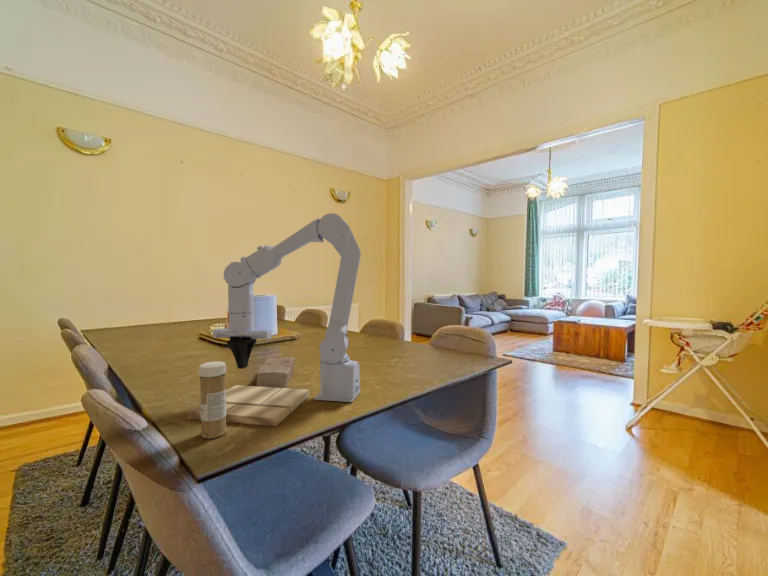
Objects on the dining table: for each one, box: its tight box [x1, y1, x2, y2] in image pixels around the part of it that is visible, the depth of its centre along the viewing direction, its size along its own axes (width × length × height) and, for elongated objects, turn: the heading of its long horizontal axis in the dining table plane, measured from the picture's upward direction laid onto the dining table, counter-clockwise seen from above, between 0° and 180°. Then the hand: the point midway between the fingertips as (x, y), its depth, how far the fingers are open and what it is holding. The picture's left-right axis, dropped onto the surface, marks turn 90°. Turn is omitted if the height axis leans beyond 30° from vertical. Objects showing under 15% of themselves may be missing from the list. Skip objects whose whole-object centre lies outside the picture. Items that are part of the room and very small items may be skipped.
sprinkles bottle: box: [198, 360, 228, 439], centre depth 65 cm, size 5×5×14 cm
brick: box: [256, 356, 296, 388], centre depth 100 cm, size 17×8×5 cm, turn 8°
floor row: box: [187, 402, 291, 427], centre depth 73 cm, size 20×6×2 cm, turn 79°
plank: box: [226, 384, 310, 414], centre depth 81 cm, size 20×10×2 cm, turn 79°
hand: (242, 367), depth 84 cm, fingers closed
